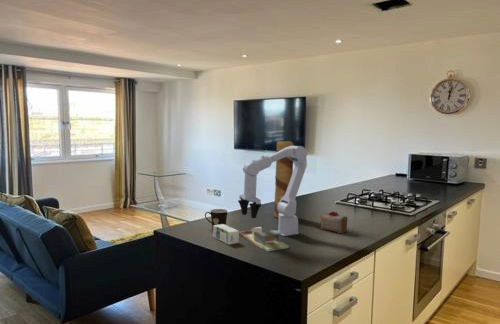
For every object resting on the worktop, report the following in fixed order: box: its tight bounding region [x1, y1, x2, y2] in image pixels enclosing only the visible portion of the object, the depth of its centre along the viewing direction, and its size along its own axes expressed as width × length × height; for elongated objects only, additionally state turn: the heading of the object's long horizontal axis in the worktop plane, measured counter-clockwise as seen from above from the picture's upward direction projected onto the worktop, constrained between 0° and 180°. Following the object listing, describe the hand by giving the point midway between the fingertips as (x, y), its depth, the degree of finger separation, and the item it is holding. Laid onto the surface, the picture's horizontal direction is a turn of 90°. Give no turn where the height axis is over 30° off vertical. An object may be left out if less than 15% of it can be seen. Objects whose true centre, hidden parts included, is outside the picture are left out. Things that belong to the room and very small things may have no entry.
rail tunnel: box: [239, 229, 290, 252], centre depth 167 cm, size 11×28×6 cm, turn 29°
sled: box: [251, 226, 274, 243], centre depth 166 cm, size 5×12×4 cm, turn 29°
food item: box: [320, 211, 348, 234], centre depth 187 cm, size 14×8×10 cm, turn 49°
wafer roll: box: [273, 140, 295, 219], centre depth 212 cm, size 10×11×45 cm
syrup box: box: [212, 224, 240, 245], centre depth 167 cm, size 6×6×14 cm
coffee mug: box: [204, 208, 229, 230], centre depth 184 cm, size 12×9×10 cm
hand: (249, 216), depth 171 cm, fingers open, 7 cm apart
